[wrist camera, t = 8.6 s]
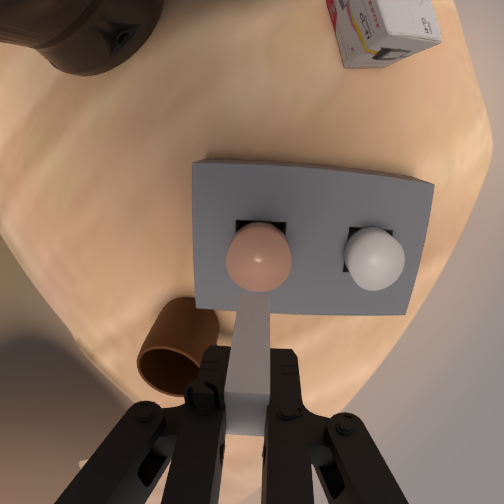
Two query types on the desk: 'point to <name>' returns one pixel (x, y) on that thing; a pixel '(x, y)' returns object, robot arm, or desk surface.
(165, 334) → the mug
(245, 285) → the terracotta plug
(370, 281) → the grey plug
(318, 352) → the desk surface
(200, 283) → the panel
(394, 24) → the ink box
